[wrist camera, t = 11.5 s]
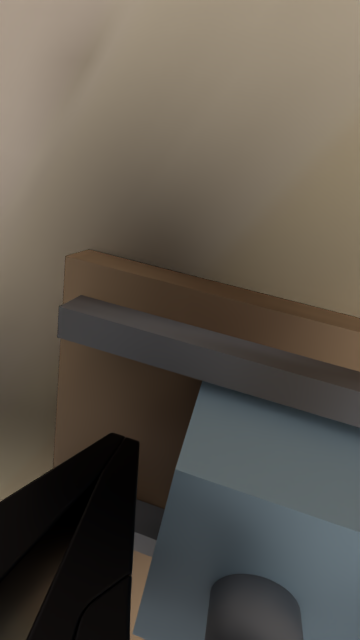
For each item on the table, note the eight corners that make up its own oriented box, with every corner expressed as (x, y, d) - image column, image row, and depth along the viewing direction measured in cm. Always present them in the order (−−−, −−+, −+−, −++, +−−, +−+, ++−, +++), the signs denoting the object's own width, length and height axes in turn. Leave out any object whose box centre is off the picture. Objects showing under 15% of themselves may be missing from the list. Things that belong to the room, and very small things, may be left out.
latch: (371, 426, 7) (474, 628, 4) (298, 560, 9) (323, 776, 6) (203, 376, 8) (161, 513, 4) (167, 512, 10) (118, 683, 6)
